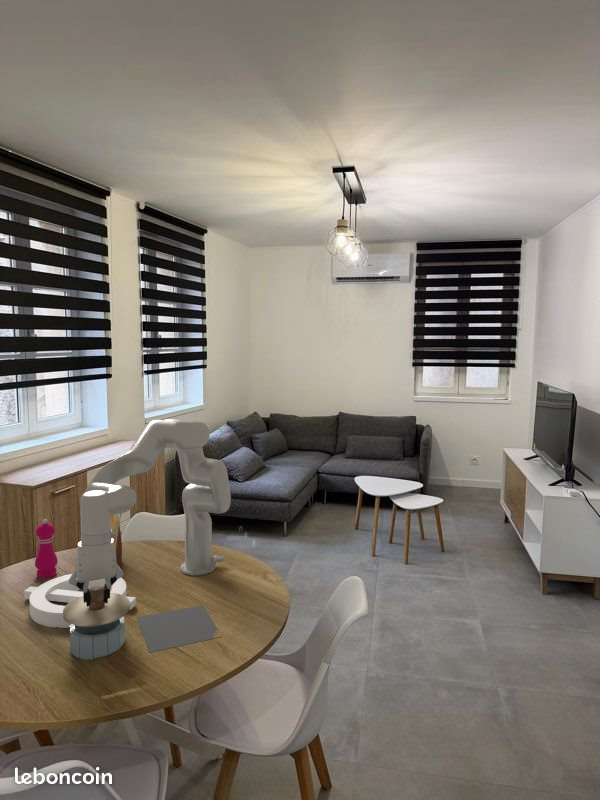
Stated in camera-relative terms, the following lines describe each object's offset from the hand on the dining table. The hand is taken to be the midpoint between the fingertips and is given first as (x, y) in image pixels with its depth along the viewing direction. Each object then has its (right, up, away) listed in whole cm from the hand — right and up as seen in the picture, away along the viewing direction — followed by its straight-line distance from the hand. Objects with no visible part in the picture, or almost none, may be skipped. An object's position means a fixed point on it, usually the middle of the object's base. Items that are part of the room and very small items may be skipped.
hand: (96, 602), depth 149 cm
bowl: (0, -12, +2) cm, 12 cm away
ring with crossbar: (-14, -10, +24) cm, 29 cm away
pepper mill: (-34, -7, +44) cm, 56 cm away
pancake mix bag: (-14, -6, +56) cm, 58 cm away
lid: (0, -2, 0) cm, 2 cm away
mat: (+20, -12, +11) cm, 25 cm away
